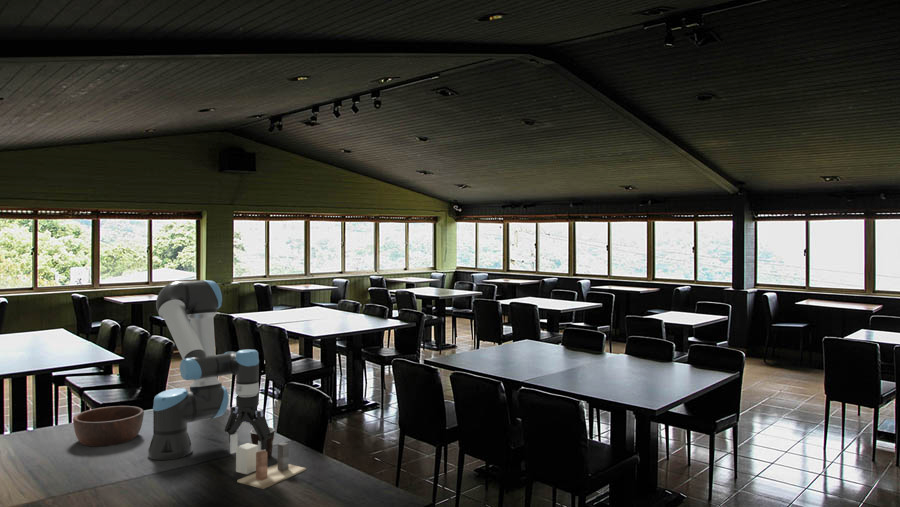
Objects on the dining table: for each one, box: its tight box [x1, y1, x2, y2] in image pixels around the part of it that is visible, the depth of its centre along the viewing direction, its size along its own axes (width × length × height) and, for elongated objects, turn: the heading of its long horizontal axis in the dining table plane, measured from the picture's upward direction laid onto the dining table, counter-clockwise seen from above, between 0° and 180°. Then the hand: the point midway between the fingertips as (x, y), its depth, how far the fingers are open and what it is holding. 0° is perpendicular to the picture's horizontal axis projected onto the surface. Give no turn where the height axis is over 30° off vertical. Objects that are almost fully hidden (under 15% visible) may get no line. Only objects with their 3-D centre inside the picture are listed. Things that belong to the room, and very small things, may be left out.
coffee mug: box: [250, 426, 276, 460], centre depth 234 cm, size 12×9×10 cm
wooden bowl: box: [72, 405, 145, 447], centre depth 253 cm, size 25×25×10 cm
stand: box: [236, 441, 307, 490], centre depth 215 cm, size 12×20×10 cm, turn 151°
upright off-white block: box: [235, 442, 258, 475], centre depth 219 cm, size 5×5×9 cm
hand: (247, 455), depth 219 cm, fingers open, 13 cm apart
